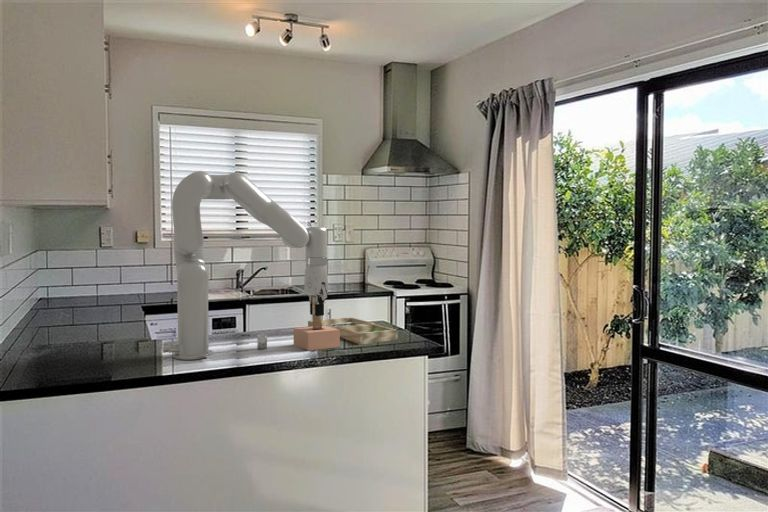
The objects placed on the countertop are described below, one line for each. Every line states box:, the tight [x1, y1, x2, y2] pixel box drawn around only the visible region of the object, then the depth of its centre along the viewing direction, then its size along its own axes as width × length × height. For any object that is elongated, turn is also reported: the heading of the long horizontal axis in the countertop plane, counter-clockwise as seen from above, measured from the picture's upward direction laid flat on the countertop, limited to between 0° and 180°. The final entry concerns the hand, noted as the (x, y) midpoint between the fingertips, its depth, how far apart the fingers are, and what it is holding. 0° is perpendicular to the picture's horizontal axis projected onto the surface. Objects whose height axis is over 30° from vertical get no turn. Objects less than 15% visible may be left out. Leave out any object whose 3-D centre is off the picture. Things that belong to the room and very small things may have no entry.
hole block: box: [293, 325, 341, 352], centre depth 210 cm, size 12×12×6 cm
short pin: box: [256, 333, 268, 351], centre depth 204 cm, size 3×3×5 cm
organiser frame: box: [307, 317, 398, 346], centre depth 233 cm, size 20×38×4 cm, turn 33°
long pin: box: [312, 296, 323, 330], centre depth 210 cm, size 3×3×12 cm
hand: (317, 314), depth 210 cm, fingers closed on long pin, 3 cm apart
